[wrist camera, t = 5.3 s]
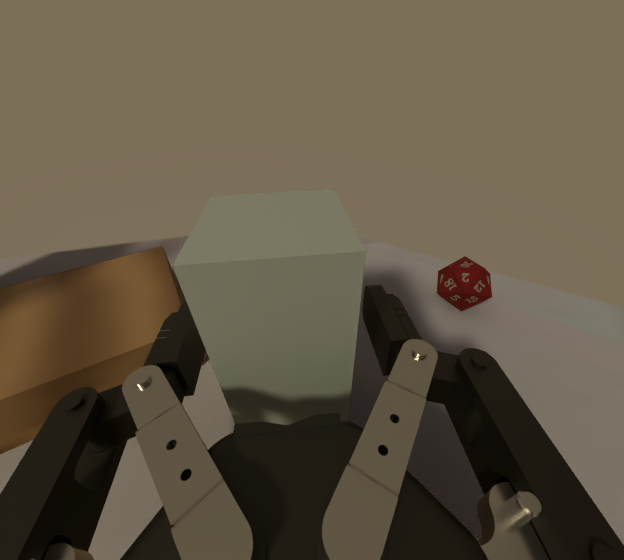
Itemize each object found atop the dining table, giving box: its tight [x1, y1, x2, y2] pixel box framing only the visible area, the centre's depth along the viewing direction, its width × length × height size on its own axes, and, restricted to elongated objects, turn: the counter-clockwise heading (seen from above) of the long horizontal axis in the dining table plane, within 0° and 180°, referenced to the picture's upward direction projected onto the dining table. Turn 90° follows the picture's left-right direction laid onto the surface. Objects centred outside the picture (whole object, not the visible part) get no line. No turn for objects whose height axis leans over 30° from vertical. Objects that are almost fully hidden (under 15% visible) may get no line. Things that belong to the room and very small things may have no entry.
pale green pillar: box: [172, 189, 366, 425], centre depth 13 cm, size 5×5×12 cm
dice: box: [437, 257, 492, 311], centre depth 22 cm, size 4×4×4 cm
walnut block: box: [0, 246, 203, 454], centre depth 20 cm, size 12×12×4 cm
